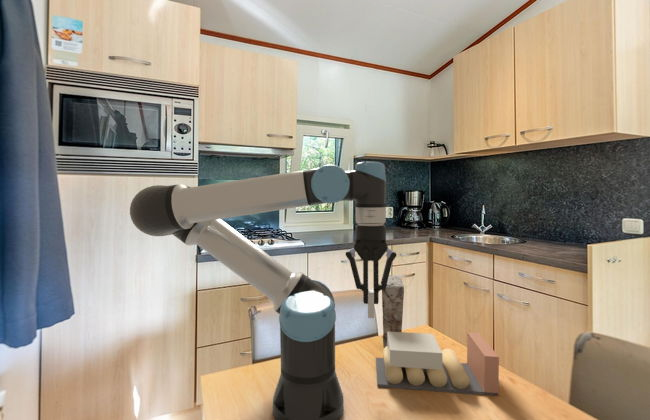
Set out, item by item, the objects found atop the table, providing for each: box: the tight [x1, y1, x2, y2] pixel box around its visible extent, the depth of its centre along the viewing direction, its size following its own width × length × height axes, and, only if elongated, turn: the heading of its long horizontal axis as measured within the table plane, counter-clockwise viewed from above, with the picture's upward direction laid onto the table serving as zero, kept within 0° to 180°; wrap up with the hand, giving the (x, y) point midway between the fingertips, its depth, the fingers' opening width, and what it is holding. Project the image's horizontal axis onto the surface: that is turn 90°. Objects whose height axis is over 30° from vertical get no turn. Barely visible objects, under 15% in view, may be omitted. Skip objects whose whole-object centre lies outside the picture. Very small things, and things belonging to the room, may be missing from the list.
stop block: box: [466, 332, 500, 396], centre depth 75 cm, size 3×12×9 cm, turn 172°
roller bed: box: [375, 346, 499, 396], centre depth 77 cm, size 27×12×5 cm, turn 82°
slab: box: [387, 331, 442, 370], centre depth 77 cm, size 12×10×4 cm
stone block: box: [381, 274, 405, 349], centre depth 93 cm, size 13×7×20 cm, turn 176°
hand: (370, 315), depth 78 cm, fingers closed
